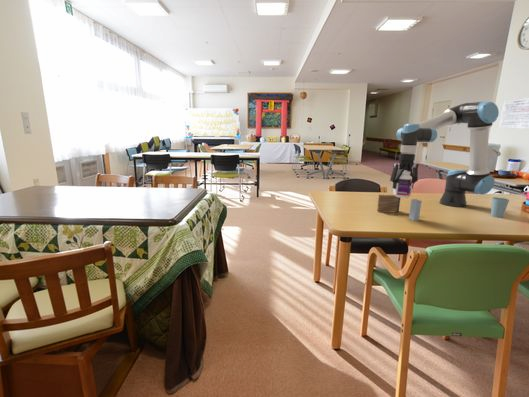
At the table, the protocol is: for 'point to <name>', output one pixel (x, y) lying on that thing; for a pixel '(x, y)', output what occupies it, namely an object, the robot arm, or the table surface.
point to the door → (388, 203)
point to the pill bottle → (404, 185)
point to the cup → (498, 207)
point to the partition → (415, 209)
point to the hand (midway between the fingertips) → (402, 194)
